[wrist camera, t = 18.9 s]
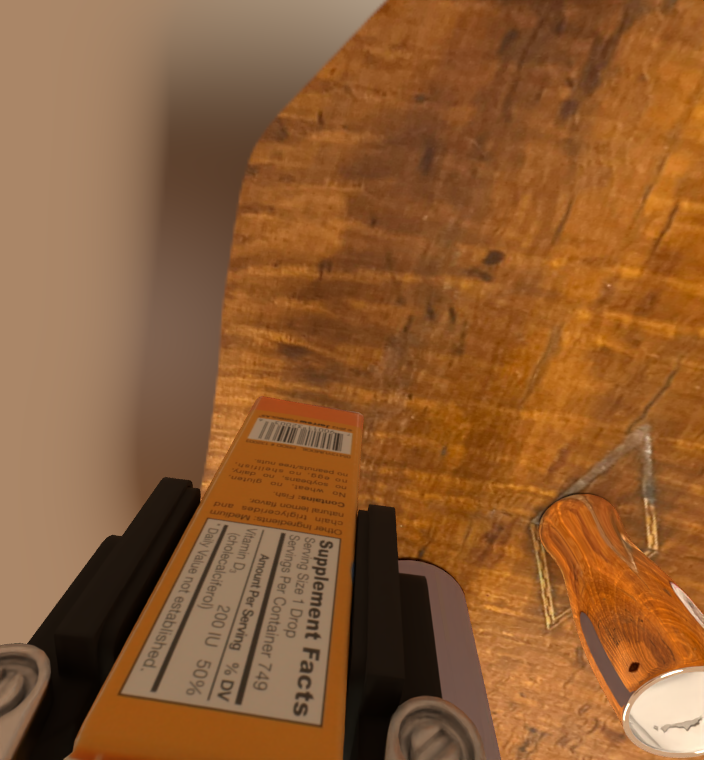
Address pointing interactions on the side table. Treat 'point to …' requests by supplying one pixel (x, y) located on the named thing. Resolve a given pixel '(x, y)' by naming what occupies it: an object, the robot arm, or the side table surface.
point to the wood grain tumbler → (631, 626)
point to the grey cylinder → (456, 650)
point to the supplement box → (247, 607)
